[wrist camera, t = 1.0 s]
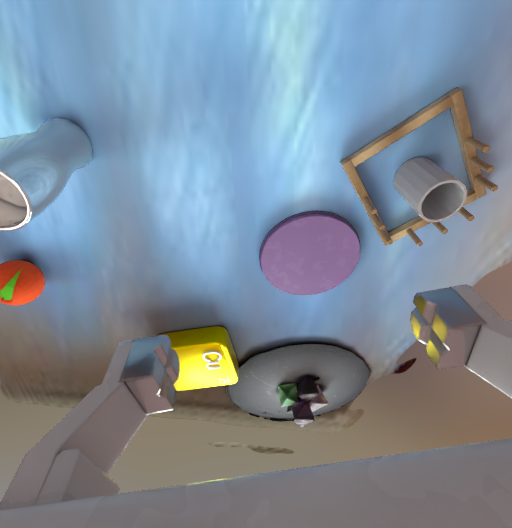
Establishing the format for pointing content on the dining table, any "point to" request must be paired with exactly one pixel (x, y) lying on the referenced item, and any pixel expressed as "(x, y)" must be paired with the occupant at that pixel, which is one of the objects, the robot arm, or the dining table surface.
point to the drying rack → (450, 100)
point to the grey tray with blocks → (298, 382)
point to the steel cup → (429, 189)
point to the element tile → (204, 358)
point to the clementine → (20, 282)
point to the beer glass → (38, 169)
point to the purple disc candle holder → (309, 253)
